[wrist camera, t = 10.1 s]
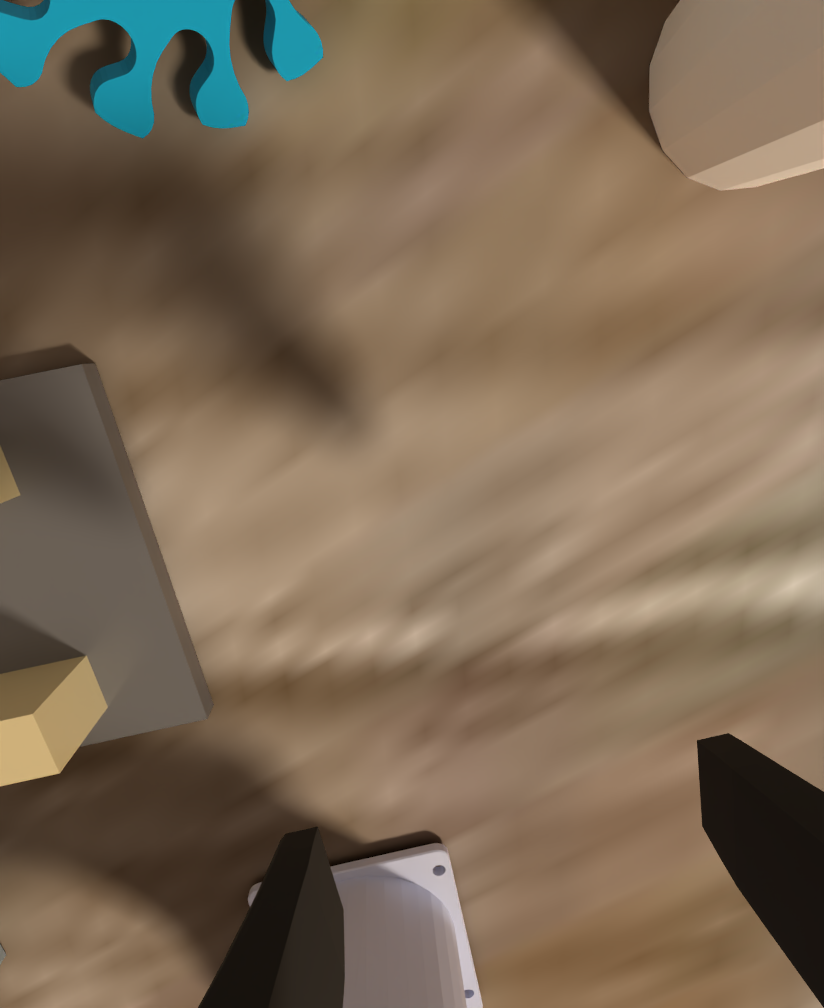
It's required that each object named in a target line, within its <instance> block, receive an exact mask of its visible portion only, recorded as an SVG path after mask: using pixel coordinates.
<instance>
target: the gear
mask: <svg viewBox="0 0 824 1008" xmlns="http://www.w3.org/2000/svg"><path fill="white" fill-rule="evenodd" d="M234 1H235V0H44V1H43V2H42V3H40V4H39V5H37V6H35V7H25V6H20V5H17V4H14V3H10V2H7V1H4V0H0V73H1V74H2V75H4V76H5V77H6V78H7V79H8V80H9V81H10V82H11V83H12V84H14V85H15V86H16V87H26V86H29V85H32V84H33V83H35V82H36V81H37V80H38V79H39V77H40V76H41V74H42V70H43V66H44V62H45V59H46V57H47V55H48V53H49V51H50V48H51V47H52V46H53V45H54V43H55V42H56V41H57V40H58V38H60V37H61V36H62V35H64V34H65V33H66V32H68V31H69V30H71V29H73V28H76V27H78V26H80V25H83V24H86V23H89V22H93V21H96V20H101V19H106V20H111V21H113V22H116V23H117V24H119V25H120V26H122V27H123V28H124V29H125V30H126V31H127V32H128V34H129V35H130V37H131V48H130V52H129V54H128V56H127V57H126V58H125V59H123V60H121V61H119V62H116V63H113V64H110V65H107V66H104V67H102V68H100V69H98V70H97V71H96V72H95V73H94V75H93V77H92V79H91V83H90V94H91V99H92V102H93V106H94V110H95V113H96V114H98V115H99V116H100V117H101V118H102V119H104V120H105V121H106V122H108V123H110V124H111V125H113V126H114V127H116V128H118V129H121V130H123V131H125V132H127V133H130V134H132V135H135V136H138V137H141V138H144V137H145V136H147V135H148V134H149V132H150V131H151V129H152V127H153V123H154V111H153V106H152V98H151V85H152V78H153V73H154V70H155V66H156V63H157V61H158V59H159V57H160V55H161V53H162V52H163V50H164V48H165V47H166V45H167V44H168V42H169V41H170V39H171V38H172V37H173V35H174V34H175V33H177V32H178V31H180V30H184V29H190V30H194V31H196V32H198V33H200V34H201V35H203V37H204V38H205V39H206V44H207V53H206V57H205V59H204V61H203V63H202V64H201V66H200V67H199V68H198V70H197V71H196V73H195V74H194V76H193V78H192V80H191V83H190V99H191V102H192V104H193V107H194V109H195V111H196V113H197V115H198V117H199V119H200V121H201V123H202V124H203V125H206V126H209V127H212V128H233V127H239V126H245V125H246V123H247V120H248V114H249V109H248V103H247V100H246V97H245V95H244V94H243V92H242V90H241V88H240V86H239V84H238V82H237V79H236V77H235V74H234V71H233V66H232V62H231V57H230V47H229V38H230V23H231V14H232V7H233V3H234ZM265 1H266V20H265V27H264V36H263V41H264V48H265V51H266V54H267V56H268V58H269V60H270V61H271V63H272V64H273V65H274V67H275V68H276V70H277V71H278V73H279V74H280V75H281V76H282V77H283V78H284V79H285V80H286V81H289V80H292V79H296V78H297V77H299V76H301V75H303V74H305V73H306V72H307V71H308V70H310V69H311V68H312V67H313V66H314V65H315V64H317V63H318V62H319V61H320V60H321V59H322V58H323V48H322V43H321V40H320V38H319V36H318V34H317V32H316V31H315V30H314V28H313V27H312V26H311V25H310V24H309V22H308V21H307V20H306V19H305V18H304V17H303V16H302V15H301V14H300V13H299V12H298V11H296V10H295V9H294V8H293V6H292V4H291V3H290V1H289V0H265Z"/></svg>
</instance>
